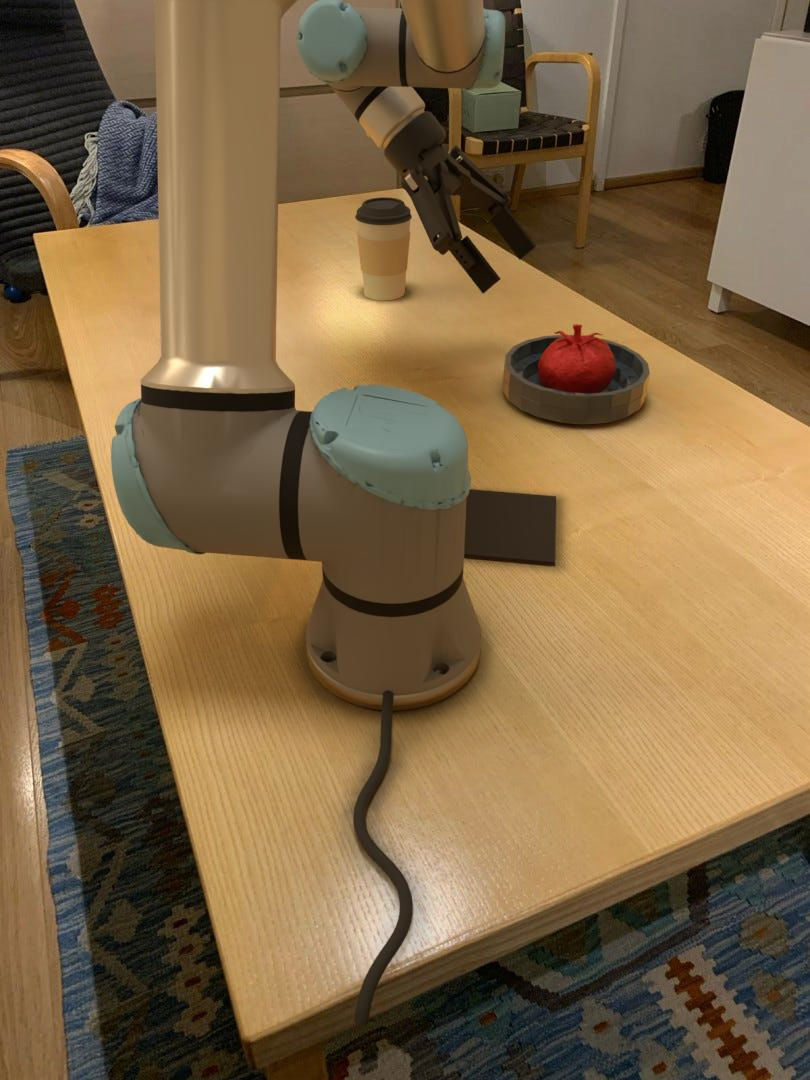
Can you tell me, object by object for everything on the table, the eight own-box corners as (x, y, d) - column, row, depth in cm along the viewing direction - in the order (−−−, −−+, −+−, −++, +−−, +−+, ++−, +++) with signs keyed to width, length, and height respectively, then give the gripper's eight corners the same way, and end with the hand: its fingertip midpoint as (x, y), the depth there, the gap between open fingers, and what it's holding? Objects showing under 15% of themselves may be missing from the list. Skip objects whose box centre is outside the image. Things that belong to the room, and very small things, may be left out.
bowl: (648, 433, 108) (654, 400, 106) (498, 422, 111) (501, 390, 108) (638, 369, 123) (643, 339, 121) (506, 360, 125) (508, 331, 123)
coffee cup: (347, 297, 145) (343, 203, 136) (374, 280, 152) (372, 190, 143) (395, 306, 142) (394, 211, 133) (420, 288, 148) (421, 197, 140)
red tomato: (625, 400, 114) (636, 332, 109) (558, 413, 111) (566, 344, 106) (585, 369, 122) (594, 304, 116) (522, 381, 119) (528, 315, 113)
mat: (554, 566, 87) (555, 562, 87) (434, 555, 88) (434, 551, 88) (555, 499, 96) (556, 496, 96) (447, 490, 98) (447, 487, 98)
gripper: (425, 131, 119) (521, 257, 123) (337, 174, 101) (452, 320, 105) (463, 91, 114) (562, 223, 118) (377, 128, 96) (497, 283, 100)
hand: (511, 269), depth 111 cm, fingers open, 13 cm apart
